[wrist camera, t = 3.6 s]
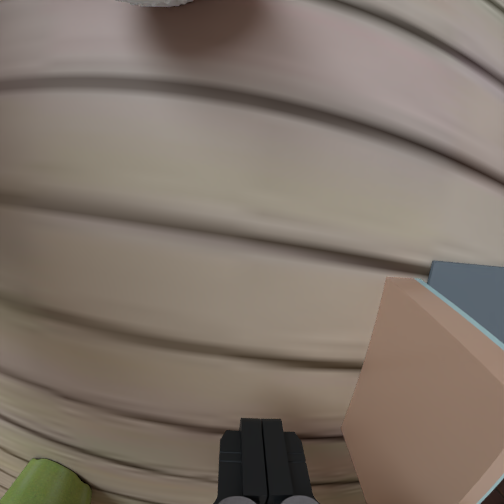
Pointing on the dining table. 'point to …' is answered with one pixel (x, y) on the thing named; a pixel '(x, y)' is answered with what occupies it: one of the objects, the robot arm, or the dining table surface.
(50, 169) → the dining table surface
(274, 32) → the dining table surface
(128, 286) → the dining table surface
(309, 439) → the dining table surface
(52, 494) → the plant pot
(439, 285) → the mat
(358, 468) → the tile
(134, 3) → the white citrus juicer
